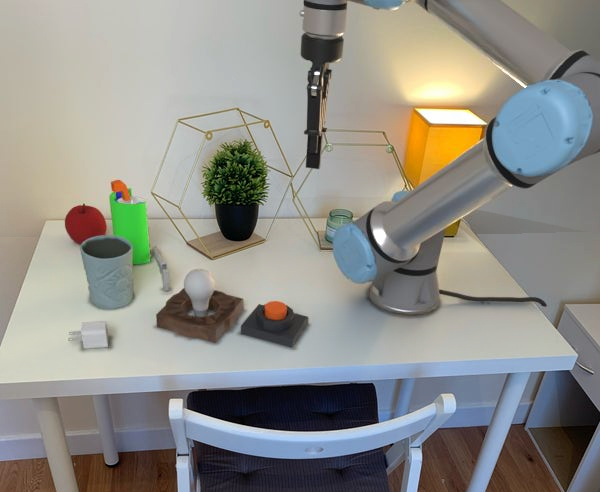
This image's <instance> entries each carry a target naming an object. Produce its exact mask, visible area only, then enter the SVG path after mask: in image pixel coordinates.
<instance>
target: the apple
mask: <svg viewBox="0 0 600 492" xmlns="http://www.w3.org/2000/svg"><path fill="white" fill-rule="evenodd" d="M64 229H65V232H66V233H67V235H68V236H69V238H70V239H71V240H72V241H73V242H74V243H76V244H78V245H81V244H82V243H83V242H84V241H85V240H87V239H89V238H92V237H95V236H101V235H107V229H108V225H107V221H106V219H105V217H104V215H103V213H102V212H101V210H99V209H98V208H96V207H95V206H91V205H86V204H85V203H83V204H82V205H81V204H79V205H76V206H73V207H72V208H71V209H70V210H69V211H68V212H67V214H66V215H65V218H64Z"/></svg>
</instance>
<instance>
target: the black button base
mask: <svg viewBox="0 0 600 492" xmlns="http://www.w3.org/2000/svg"><path fill="white" fill-rule="evenodd" d="M266 304H267V303H264V304H260V303H258V305H257V306H256V307H255V308H254V309H253V310H252V312H251V313H250V314H249V315H248V316H247V318H246V319H245V320H244V322H243V323H242V324H241V325H240V334H241V335H243V336H247V337H249V338H255V339H258V340H261V341H266V342H269V343H273V344H277V345H280V346H284V347H287V348H293V347H294V346H295V345H296V343H297V341H298V340H299V338H300V337H301V336H302V334H303V333H304V331H305V330H306V329H307V327H308V325H309V316H307V315H303V314H299V313H295V312H294V309H293V308H292V307H290V306H289V305H287V304H285V305H286V306H287V315H286V317H285V318H283V319H280V320H273V319H269V318H267V317H266V316H265V314H264V312H265V305H266Z"/></svg>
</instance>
